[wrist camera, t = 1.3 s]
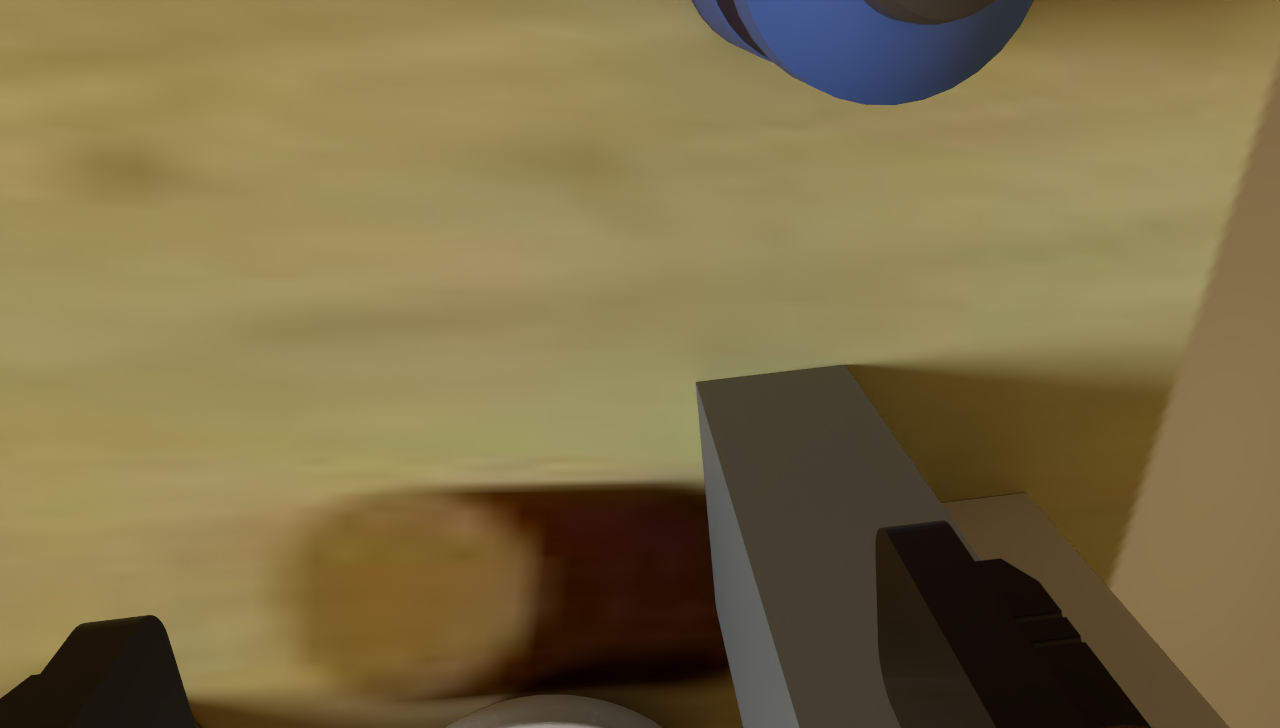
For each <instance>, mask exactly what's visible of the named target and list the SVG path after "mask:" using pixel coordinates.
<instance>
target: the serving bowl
mask: <svg viewBox="0 0 1280 728" xmlns="http://www.w3.org/2000/svg"><path fill="white" fill-rule="evenodd" d="M445 728H663V727H661V726H660V725H658V724H657V723H655V722H653V721H652V720H650V719H649V718H647V717H645V716H643V715H641V714H639V713H637V712H635V711H632V710H630V709H628V708H625V707H623V706H620V705H617V704H614V703H611V702H607V701H604V700H600V699H595V698H590V697H585V696H576V695H562V694H551V695H534V696H526V697H520V698H515V699H510V700H506V701H502V702H499V703H496V704H493V705H490V706H487V707H484V708H481V709H479V710H477V711H475V712H472V713H470V714H468V715H466V716H464V717H462V718H460V719H459V720H457V721H455V722H453V723H452V724H450V725H448V726H447V727H445Z"/></svg>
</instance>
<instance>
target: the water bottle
mask: <svg viewBox="0 0 1280 728" xmlns="http://www.w3.org/2000/svg"><path fill="white" fill-rule="evenodd" d="M1033 1H1034V0H692V2H693V4H694V6H695V7H696V9H697V11H698V12H699V14H700V16H701V17H702V18H703V20H704V21H705V22H706V23H707V24H708V25H709V26H710V27H711V29H712V30H713V31H714V32H716V33H717V34H718V35H720V36H721V37H722V38H724V39H725V40H726V41H728V42H729V43H731V44H734V45H736V46H738V47H740V48H742V49H744V50H746V51H749V52H751V53H753V54H755V55H757V56H759V57H762V58H764V59H766V60H768V61H771V62H773V63H775V64H776V65H777V66H779V67H780V68H781V69H783V70H784V71H785V72H787V73H788V74H789V75H791V76H792V77H794V78H796V79H798V80H800V81H802V82H804V83H806V84H808V85H810V86H812V87H815V88H817V89H819V90H821V91H823V92H825V93H828V94H830V95H832V96H834V97H836V98H839V99H843V100H848V101H852V102H857V103H861V104H865V105H897V104H902V103H908V102H913V101H919V100H924V99H926V98H929V97H931V96H934V95H936V94H939V93H941V92H944V91H946V90H949V89H951V88H953V87H955V86H956V85H958V84H959V83H961V82H962V81H964V80H966V79H967V78H969V77H970V76H972V75H974V74H975V73H977V72H978V71H979V70H980V69H981V68H982V67H984V66H985V65H986V64H987V63H988V62H989V61H990V60H991V59H992V58H993V57H994V56H996V55H997V54H998V53H999V52H1000V51H1001V50H1002V49H1003V47H1004V46H1005V45H1006V43H1007V42H1008V41H1009V39H1010V38H1011V37H1012V36H1013V34H1014V33H1015V32H1016V30H1017V29H1018V28H1019V27H1020V25H1021V23H1022V22H1023V20H1024V18H1025V16H1026V14H1027V12H1028V10H1029V8H1030V6H1031V5H1032V3H1033Z"/></svg>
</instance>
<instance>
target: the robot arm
mask: <svg viewBox="0 0 1280 728" xmlns="http://www.w3.org/2000/svg"><path fill="white" fill-rule="evenodd" d="M875 555H876V591H877V627H878V651H879V659H880V666H881V672H882V677H883V681H884V685H885V689H886V693H887V696H888V699H889V701H890V704H891V706H892V709H893V711H894V713H895V716H896V718H897V720H898V722H899V725H900V727H901V728H1152V727H1151V726H1150V725H1149V724H1148V723H1147V721H1146V720H1145V719H1144V717H1143V716H1142V715H1141V713H1140V712H1139V711H1138V709H1137V708H1136V707H1135V706H1134V704H1133V703H1132V702H1131V700H1130V699H1129V698H1128V696H1127V695H1126V694H1125V693H1124V691H1123V690H1122V689H1121V687H1120V686H1119V685H1118V683H1117V682H1116V681H1115V680H1114V678H1113V677H1112V676H1111V674H1110V673H1109V672H1108V670H1107V669H1106V668H1105V667H1104V665H1103V664H1102V663H1101V661H1100V660H1099V659H1098V657H1097V656H1096V655H1095V654H1094V652H1093V651H1092V650H1091V648H1090V647H1089V646H1088V644H1087V643H1086V642H1082V641H1081V635H1080V634H1079V633H1078V631H1077V630H1076V629H1075V628H1074V626H1073V625H1072V624H1071V622H1070V621H1069V620H1068V618H1067V617H1063V616H1062V611H1061V609H1060V608H1059V607H1058V605H1057V604H1056V603H1055V602H1054V600H1053V599H1052V598H1051V596H1050V595H1049V594H1048V592H1047V591H1046V590H1045V589H1044V587H1043V586H1042V585H1041V583H1040V582H1039V581H1038V580H1036V579H1034V578H1033V577H1031V576H1029V575H1028V574H1026V573H1024V572H1023V571H1021V570H1019V569H1018V568H1016V567H1014V566H1013V565H1011V564H1010V563H1008V562H1006V561H1005V560H1003V559H1001V558H998V559H990V560H982V561H975V560H974V559H973V557H972V556H971V555H970V553H969V552H968V550H967V549H966V547H965V546H964V544H963V543H962V541H961V540H960V539H959V537H958V536H957V534H956V533H955V531H954V530H953V528H952V527H951V526H950V524H949V523H948V522H947V521H945V520H940V521H932V522H924V523H916V524H908V525H899V526H891V527H883V528H879V529H878V531H877V534H876V542H875ZM0 728H200V727H199V726H198V725H197V724H195V722H194V719H193V716H192V713H191V709H190V706H189V703H188V700H187V696H186V693H185V690H184V687H183V683H182V680H181V677H180V673H179V670H178V667H177V664H176V660H175V657H174V654H173V651H172V647H171V644H170V641H169V638H168V635H167V632H166V629H165V627H164V625H163V624H162V622H161V621H160V620H159V619H158V618H157V617H155V616H153V615H147V616H138V617H130V618H122V619H114V620H106V621H97V622H89V623H83V624H80V625H79V626H77V627H76V628H75V629H74V630H73V631H72V633H71V634H70V635H69V637H68V638H67V639H66V641H65V642H64V643H63V645H62V646H61V647H60V649H59V650H58V651H57V653H56V654H55V655H54V657H53V658H52V659H51V661H50V662H49V663H48V665H47V666H46V667H45V668H44V670H43V671H42V672H41V674H38V675H31V676H30V677H28V678H27V679H26V680H24V681H23V682H22V683H20V684H19V685H18V686H16V687H15V688H14V689H13V690H11V691H10V692H9V693H7V694H6V695H5V696H3V697H2V698H1V699H0Z"/></svg>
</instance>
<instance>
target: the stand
mask: <svg viewBox="0 0 1280 728" xmlns="http://www.w3.org/2000/svg"><path fill="white" fill-rule="evenodd" d="M696 389H697V400H698V411H699V422H700V434H701V445H702V456H703V467H704V478H705V489H706V500H707V512H708V523H709V534H710V545H711V556H712V567H713V578H714V590H715V601H716V609H717V613H718V618H719V622H720V626H721V631H722V635H723V640H724V644H725V649H726V653H727V657H728V662H729V666H730V671H731V675H732V680H733V684H734V688H735V693H736V697H737V702H738V706H739V711H740V715H741V719H742V724H743V728H901V727H900V725H899V722H898V720H897V718H896V716H895V713H894V711H893V709H892V706H891V704H890V701H889V699H888V696H887V693H886V689H885V685H884V681H883V677H882V672H881V666H880V659H879V651H878V627H877V591H876V555H875V542H876V534H877V531H878V529H879V528H883V527H891V526H899V525H908V524H916V523H924V522H932V521H940V520H945V521H947V522H948V523H949V524H950V526H951V527H952V528H953V530H954V531H955V533H956V534H957V536H958V537H959V539H960V540H961V541H962V543H963V544H964V546H965V547H966V549H967V550H968V552H969V553H970V555H971V556H972V557H973V559H974V560H975V561H982V560H990V559H998V558H1001V559H1003V560H1005V561H1006V562H1008V563H1010V564H1011V565H1013V566H1014V567H1016V568H1018V569H1019V570H1021V571H1023V572H1024V573H1026V574H1028V575H1029V576H1031V577H1033V578H1034V579H1036V580H1038V581H1039V582H1040V583H1041V585H1042V586H1043V587H1044V589H1045V590H1046V591H1047V592H1048V594H1049V595H1050V596H1051V598H1052V599H1053V600H1054V602H1055V603H1056V604H1057V605H1058V607H1059V608H1060V609H1061V611H1062V616H1063V617H1067V618H1068V620H1069V621H1070V622H1071V624H1072V625H1073V626H1074V628H1075V629H1076V630H1077V631H1078V633H1079V634H1080V635H1081V641H1082V642H1086V643H1087V644H1088V646H1089V647H1090V648H1091V650H1092V651H1093V652H1094V654H1095V655H1096V656H1097V657H1098V659H1099V660H1100V661H1101V663H1102V664H1103V665H1104V667H1105V668H1106V669H1107V670H1108V672H1109V673H1110V674H1111V676H1112V677H1113V678H1114V680H1115V681H1116V682H1117V683H1118V685H1119V686H1120V687H1121V689H1122V690H1123V691H1124V693H1125V694H1126V695H1127V696H1128V698H1129V699H1130V700H1131V702H1132V703H1133V704H1134V706H1135V707H1136V708H1137V709H1138V711H1139V712H1140V713H1141V715H1142V716H1143V717H1144V719H1145V720H1146V721H1147V723H1148V724H1149V725H1150V726H1151V727H1152V728H1229V726H1228V725H1227V724H1226V723H1225V722H1224V720H1223V719H1222V718H1221V717H1220V716H1219V715H1218V714H1217V712H1216V711H1215V710H1214V709H1213V708H1212V707H1211V706H1210V704H1209V703H1208V702H1207V701H1206V700H1205V699H1204V698H1203V696H1202V695H1201V694H1200V693H1199V692H1198V691H1197V689H1196V688H1195V687H1194V686H1193V685H1192V684H1191V683H1190V681H1189V680H1188V679H1187V678H1186V677H1185V676H1184V674H1183V673H1181V671H1180V670H1179V669H1178V668H1177V667H1176V665H1175V664H1174V663H1173V662H1172V661H1171V659H1170V658H1169V657H1168V656H1167V655H1166V654H1165V653H1164V651H1163V650H1162V649H1161V648H1160V647H1159V646H1158V644H1157V643H1156V642H1155V641H1154V640H1153V639H1152V637H1151V636H1150V635H1149V634H1148V633H1147V632H1146V631H1145V629H1144V628H1143V627H1142V626H1141V625H1140V624H1139V623H1138V621H1137V620H1136V619H1135V618H1134V617H1133V616H1132V614H1131V613H1130V612H1129V611H1128V610H1127V609H1126V608H1125V606H1124V605H1123V604H1122V603H1121V602H1120V601H1119V600H1118V598H1117V597H1116V596H1115V595H1114V594H1113V593H1112V591H1111V590H1110V589H1109V588H1108V587H1107V586H1106V584H1105V583H1104V582H1103V581H1102V580H1101V579H1100V578H1099V576H1098V575H1097V574H1096V573H1095V572H1094V571H1093V569H1092V568H1091V567H1090V566H1089V565H1088V564H1087V563H1086V561H1085V560H1084V559H1083V558H1082V557H1081V556H1080V554H1079V553H1078V552H1077V551H1076V550H1075V549H1074V548H1073V546H1072V545H1071V544H1070V543H1069V542H1068V541H1067V539H1066V538H1065V537H1064V536H1063V535H1062V534H1061V533H1060V531H1059V530H1058V529H1057V528H1056V527H1055V526H1054V524H1053V523H1052V522H1051V521H1050V520H1049V519H1048V518H1047V516H1046V515H1045V514H1044V513H1043V512H1042V511H1041V509H1040V508H1039V507H1038V506H1037V505H1036V504H1035V503H1034V501H1033V500H1032V499H1031V498H1030V497H1029V496H1028V495H1027V493H1020V494H1012V495H1003V496H995V497H987V498H978V499H970V500H962V501H953V502H945V503H940V501H939V500H938V499H937V497H936V496H935V494H934V493H933V491H932V490H931V488H930V487H929V486H928V484H927V483H926V481H925V480H924V478H923V477H922V475H921V474H920V473H919V471H918V470H917V468H916V467H915V465H914V464H913V462H912V461H911V459H910V458H909V457H908V455H907V454H906V452H905V451H904V449H903V448H902V446H901V445H900V444H899V442H898V441H897V439H896V438H895V436H894V435H893V433H892V432H891V431H890V429H889V428H888V426H887V425H886V423H885V422H884V420H883V419H882V417H881V416H880V415H879V413H878V412H877V410H876V409H875V407H874V406H873V404H872V403H871V402H870V400H869V399H868V397H867V396H866V394H865V393H864V391H863V390H862V389H861V387H860V386H859V384H858V383H857V381H856V380H855V378H854V377H853V375H852V374H851V373H850V371H849V370H848V368H847V367H846V365H839V366H831V367H822V368H814V369H805V370H797V371H788V372H780V373H771V374H763V375H754V376H746V377H737V378H729V379H720V380H711V381H703V382H696Z"/></svg>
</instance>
